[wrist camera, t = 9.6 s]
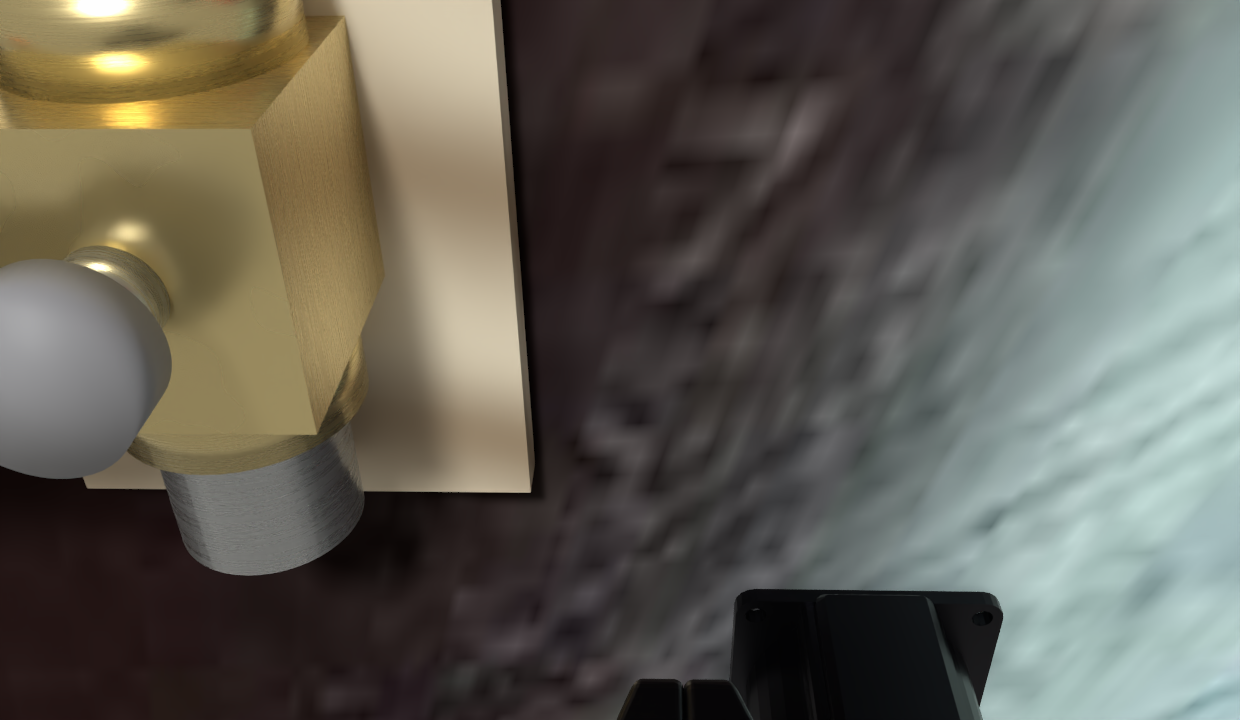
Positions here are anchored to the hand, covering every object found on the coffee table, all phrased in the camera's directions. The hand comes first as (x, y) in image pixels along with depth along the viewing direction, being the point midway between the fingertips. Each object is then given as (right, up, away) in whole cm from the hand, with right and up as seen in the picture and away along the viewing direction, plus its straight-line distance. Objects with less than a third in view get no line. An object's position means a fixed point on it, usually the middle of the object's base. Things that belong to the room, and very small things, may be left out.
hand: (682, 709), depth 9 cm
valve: (-8, +7, +11) cm, 15 cm away
